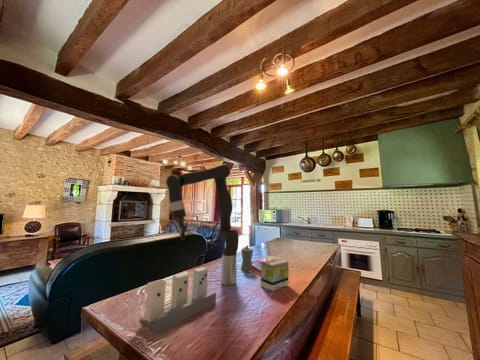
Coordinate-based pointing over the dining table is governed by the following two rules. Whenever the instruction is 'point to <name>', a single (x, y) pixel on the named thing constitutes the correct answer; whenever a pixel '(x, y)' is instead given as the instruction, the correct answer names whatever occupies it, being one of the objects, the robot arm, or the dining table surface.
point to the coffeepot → (246, 259)
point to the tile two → (179, 290)
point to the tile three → (199, 282)
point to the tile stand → (180, 312)
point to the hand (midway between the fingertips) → (183, 239)
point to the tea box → (274, 274)
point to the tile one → (155, 299)
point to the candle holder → (271, 257)
